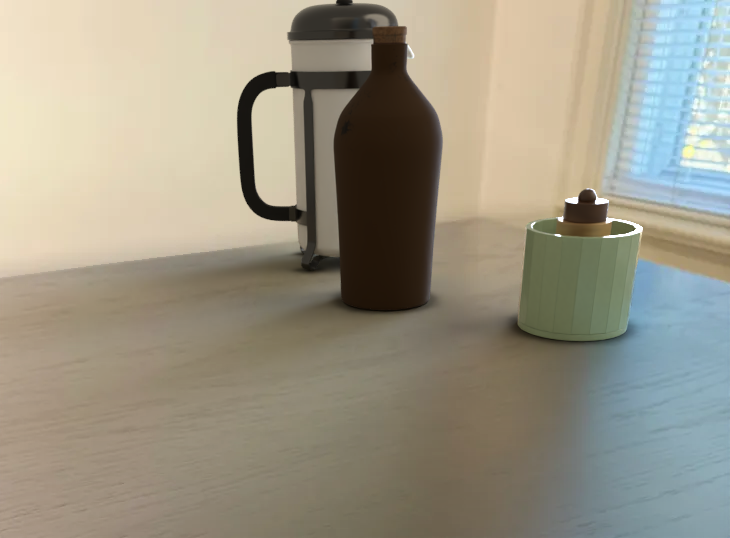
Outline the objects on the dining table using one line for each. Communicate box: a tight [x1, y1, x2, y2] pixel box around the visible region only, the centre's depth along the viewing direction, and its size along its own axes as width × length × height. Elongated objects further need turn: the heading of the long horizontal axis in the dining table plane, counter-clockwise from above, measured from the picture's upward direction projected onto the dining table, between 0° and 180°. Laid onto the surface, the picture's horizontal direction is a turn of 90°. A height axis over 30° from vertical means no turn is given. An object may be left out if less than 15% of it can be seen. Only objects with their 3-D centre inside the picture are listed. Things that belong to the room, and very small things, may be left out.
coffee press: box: [236, 0, 415, 272], centre depth 103 cm, size 17×16×30 cm
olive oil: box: [333, 25, 444, 311], centre depth 88 cm, size 11×11×25 cm
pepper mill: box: [556, 188, 612, 237], centre depth 81 cm, size 5×5×12 cm
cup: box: [517, 216, 644, 342], centre depth 82 cm, size 10×10×9 cm
